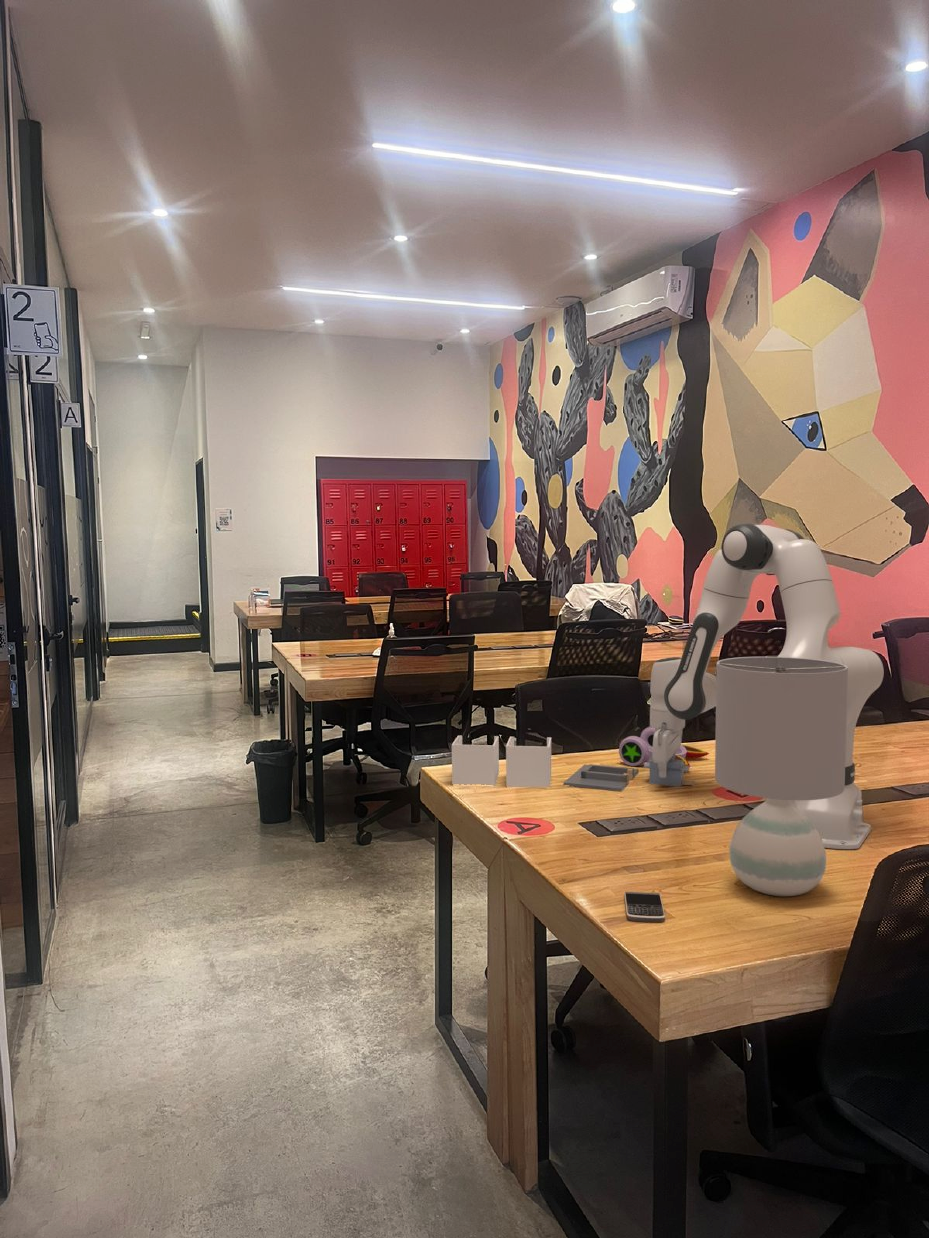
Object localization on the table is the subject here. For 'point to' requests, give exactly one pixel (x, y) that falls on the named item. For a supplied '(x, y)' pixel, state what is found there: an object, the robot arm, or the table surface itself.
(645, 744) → the headphones
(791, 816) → the lamp
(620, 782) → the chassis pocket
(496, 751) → the double compartment bin
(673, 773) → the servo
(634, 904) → the cell phone
